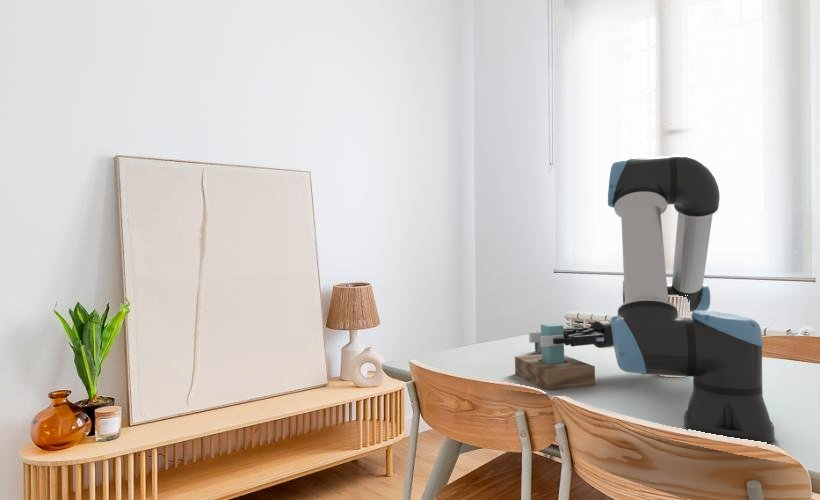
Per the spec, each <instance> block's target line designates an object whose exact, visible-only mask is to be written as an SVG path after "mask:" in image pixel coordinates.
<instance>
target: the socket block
mask: <svg viewBox="0 0 820 500" xmlns="http://www.w3.org/2000/svg"><path fill="white" fill-rule="evenodd" d="M514 374H515V375H516V376H519V377H521V378H522V379H524V380H527V381H528V382H530V383H532V384H534V385H536V386H538V387H540V388H541V389H544V390H546V391H556V390H564V389H573V388H582V387H583V388H584V387H592V386H596V367H595V365H592V364H590V363H587V362H584V361H582V360H579V359H575V358H573V357H570V356H568V355H565V354H564V363H563V364H552V365H548V364H545V363H543V362H542V354H529V355H517V356H514Z"/></svg>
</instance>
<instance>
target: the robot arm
mask: <svg viewBox="0 0 820 500" xmlns="http://www.w3.org/2000/svg"><path fill="white" fill-rule="evenodd" d="M720 197H721V196H720V189H719V185H718V182H717V180H716V178H715V176H714V175H713V173H712V172H711V171H710V169H709V168H708V167H707V166H706V165H705V164H703V163H702V162H701V161H700V160H697V159H696V158H694V157H693V156H692V157H691V156H688V155H683V154H680V155H679V154H674V155H668V156H652V157H640V158H632V157H630V158H629V157H628V158H626V159H619V160H615V161H614V162H613V163H612V165H611V167H610V173H609V180H608V191H607V206H608V207H610V208H613V210H614V212H615V214H616V215H617V216H618V217H619V218H621V237H622V238H621V240H622V243H621V244H622V264H623V265H622V267H623V268H622V269H623V281H622V304H621V305H620V306H619V307H618V309H617V314H616V315H613V316H612V317H611V318H610V319H608V320H596V321H594V322H592V323H591V325H590V327H587V326H586V327H581V328H579V327H578V326H577V327H576V326H573V327H569V328H567V327H566V328H563V330H564V338H563V335H551V336H541V332H536V331H535V332H534V331H533V332H532V331H531V332H528V335H529V337H528V338H529V339H528V340H529V343H531V344H532V343H533V344H534V343H535V342H541V347H546V346H558V345H564V346H570V347H573V348H574V347H579V346H581V347H582V346H590V345H591V346H592V345H594V346H595V347H596V348H598V349H603V348H605V349H606V348H612V347H613V349H614V350H613V351H614V355H615V358H616V362H617V366H618V368H619V369H620V370H622V371H623V372H625V373H631V374H640V375H642V376H643V375H644V376H645V375H658V376H659V375H660V376H673V377H675V376H676V377H691V378H692V380H693V381H692V383H693V385H692V386H693V387H692V392H691V395H690V398H689V401H688V405H687V409H686V410H685V412H684V414H683V427H684V428H685V427H686V428H685V430H687V429H691V430H696V431H701V432H705V433H711V434H716V435H723V436H727V437H734V438H740V439H748V440H754V441H761V442H767V443H768V444H770V442H771V441H772V442H774V440H775V426H774V424H773V422H772V420H771V418H770V415H769V412H768V407H767V405H766V403H765V400H764V396H763V393H764V392H763V346H764V343H763V338H762V337H763V336H762V328H761V325H760V324H759V323H758V321H756V320H754V319H752V318H750V317H746V316H742V315H738V314H733V313H727V312H720V311H715V310H713V311H711V310H709V309H710V306H711V291H710V288H709V285H707V284H704V278H705V272H706V265H707V264H706V263H707V257H708V252H709V251H708V250H709V242H710V235H711V228H712V220H713V216H714V215H713V214H715V213H717V211H718V210H719V206H720V200H721V199H720ZM668 205H673V207H674V210H675V211H676V212H677V222H676V232H675V244H674V245H675V246H674V254H673V255H674V257H673V267H672V268H673V269H672V279H671V283H669V284H668V281H667V271H666V260H665V259H666V257H665V246H664V235H663V225H662V214H664V213H665V212H666V210H667V208H668ZM668 294H678V295H679V296H683V297H687V299H688V302H689V300H690V311H689V312H690V313H691V314H690V317H679V314H678V312H679V311H677V308H676V307H675V306H674V305H673V304H671V303H670V302H668ZM685 295H686V296H685ZM687 295H688V296H687ZM772 442H771V443H772Z"/></svg>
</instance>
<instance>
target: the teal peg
mask: <svg viewBox="0 0 820 500" xmlns="http://www.w3.org/2000/svg"><path fill="white" fill-rule="evenodd" d="M563 329H564V324H563V325H562V324H559V323H544V324H543V323H541V324H540V331H541V336H551V335H563V338H564V330H563ZM541 349H542V362H543V363H545V364H548V365H552V364H563V363H564V355H565V344H564V345H558V346H546V347H541Z"/></svg>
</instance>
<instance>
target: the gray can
mask: <svg viewBox="0 0 820 500" xmlns="http://www.w3.org/2000/svg"><path fill="white" fill-rule="evenodd" d="M535 332H541V330H540V331H539V330H536V331H535ZM534 350H535V351H534V352H535V353H536V354H535V355H540V354H542V349H541V342H534Z"/></svg>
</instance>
